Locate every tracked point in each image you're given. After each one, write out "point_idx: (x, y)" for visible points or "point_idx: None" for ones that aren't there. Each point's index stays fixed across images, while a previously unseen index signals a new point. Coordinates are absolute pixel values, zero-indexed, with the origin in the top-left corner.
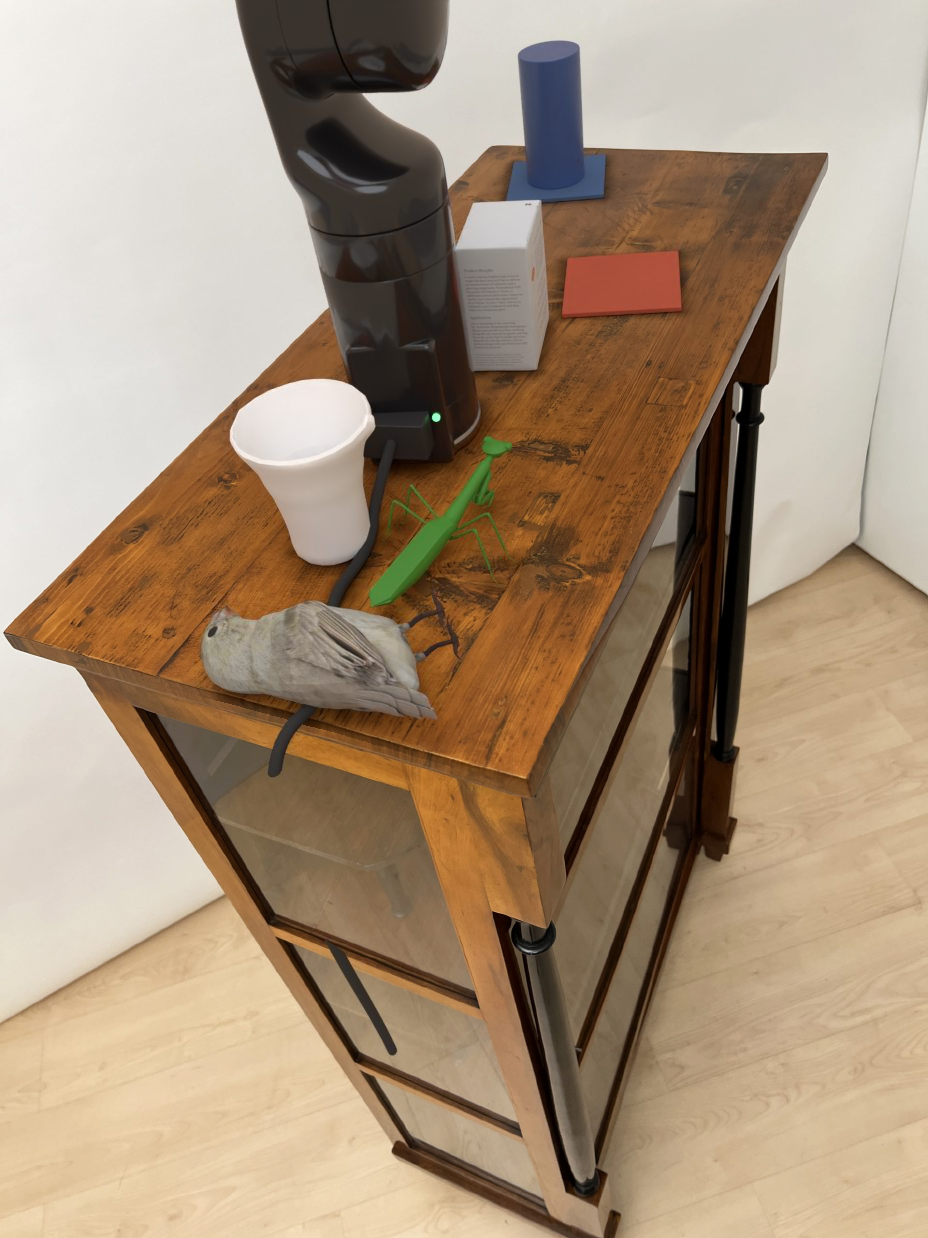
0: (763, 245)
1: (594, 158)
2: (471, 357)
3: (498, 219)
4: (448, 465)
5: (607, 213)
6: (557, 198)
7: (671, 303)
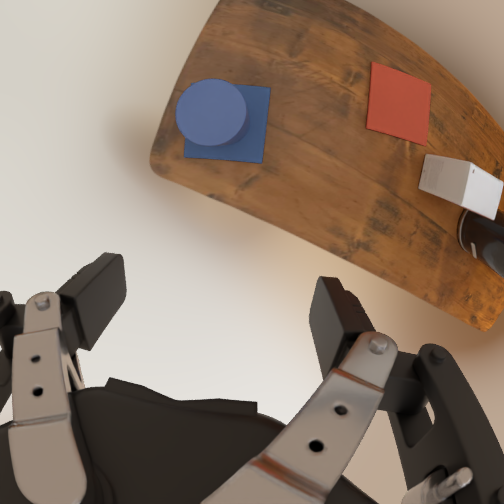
0: (367, 18)
1: None
2: (498, 209)
3: (482, 192)
4: None
5: (298, 89)
6: (266, 122)
7: (427, 87)
